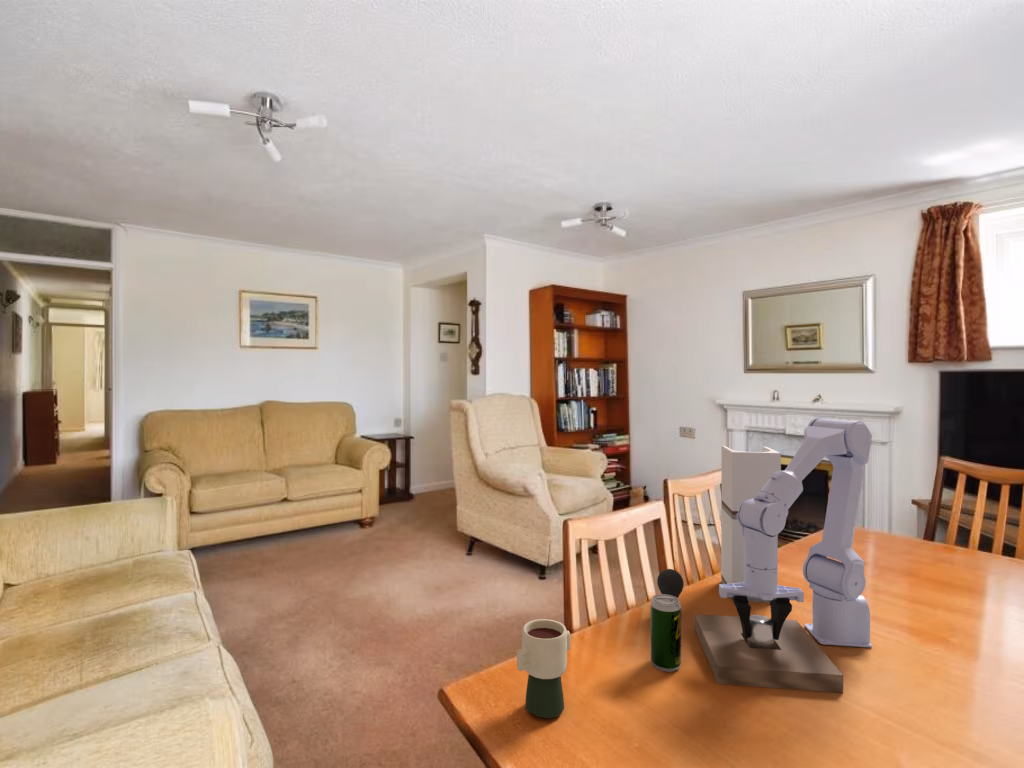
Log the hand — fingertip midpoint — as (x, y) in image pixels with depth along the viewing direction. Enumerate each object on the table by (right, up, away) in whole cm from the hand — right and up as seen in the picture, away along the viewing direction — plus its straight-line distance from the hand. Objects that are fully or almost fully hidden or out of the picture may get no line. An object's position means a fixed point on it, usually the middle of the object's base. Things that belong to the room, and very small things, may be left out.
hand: (760, 636), depth 99 cm
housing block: (0, -4, 0) cm, 4 cm away
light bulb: (-12, -4, +18) cm, 22 cm away
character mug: (-42, -5, -15) cm, 44 cm away
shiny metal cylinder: (0, -4, 0) cm, 4 cm away
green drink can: (-19, -4, -2) cm, 19 cm away
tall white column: (+11, -4, +30) cm, 32 cm away
